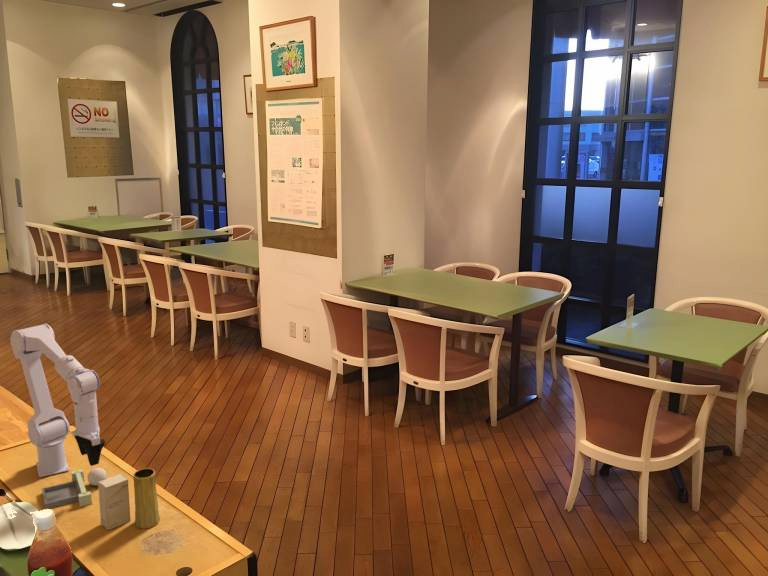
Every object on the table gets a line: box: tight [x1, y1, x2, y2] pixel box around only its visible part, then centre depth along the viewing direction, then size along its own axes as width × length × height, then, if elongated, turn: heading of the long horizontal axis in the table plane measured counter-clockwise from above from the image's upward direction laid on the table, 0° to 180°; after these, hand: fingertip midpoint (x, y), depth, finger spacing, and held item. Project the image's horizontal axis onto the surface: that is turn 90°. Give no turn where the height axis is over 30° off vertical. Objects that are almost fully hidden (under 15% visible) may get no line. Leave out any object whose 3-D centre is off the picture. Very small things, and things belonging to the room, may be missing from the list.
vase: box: [133, 467, 160, 530], centre depth 165 cm, size 6×6×14 cm
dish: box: [41, 480, 81, 509], centre depth 177 cm, size 9×9×2 cm
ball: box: [87, 467, 108, 487], centre depth 183 cm, size 5×5×5 cm
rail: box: [70, 468, 93, 508], centre depth 179 cm, size 16×3×3 cm, turn 33°
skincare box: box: [97, 473, 131, 531], centre depth 165 cm, size 6×4×12 cm
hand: (89, 459), depth 179 cm, fingers open, 7 cm apart
